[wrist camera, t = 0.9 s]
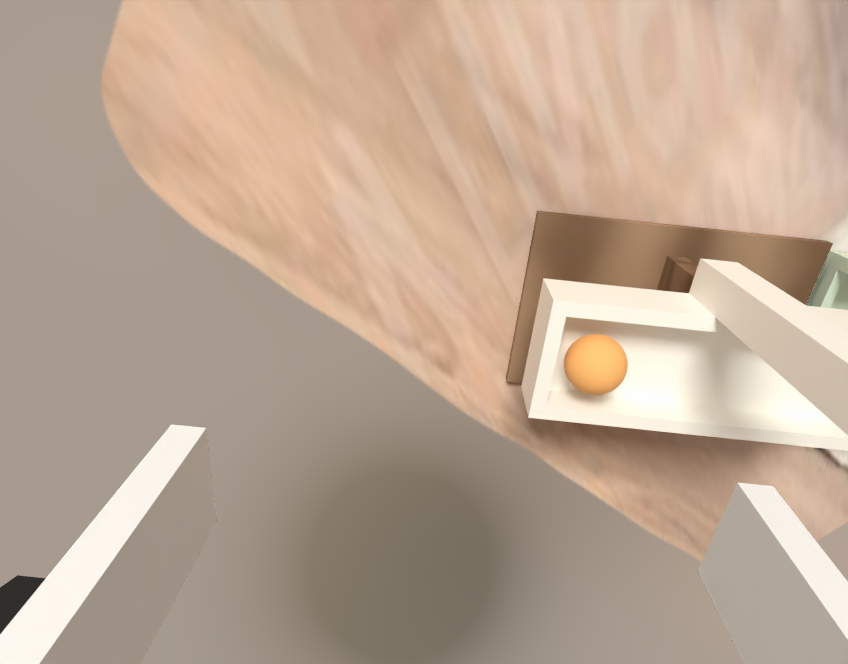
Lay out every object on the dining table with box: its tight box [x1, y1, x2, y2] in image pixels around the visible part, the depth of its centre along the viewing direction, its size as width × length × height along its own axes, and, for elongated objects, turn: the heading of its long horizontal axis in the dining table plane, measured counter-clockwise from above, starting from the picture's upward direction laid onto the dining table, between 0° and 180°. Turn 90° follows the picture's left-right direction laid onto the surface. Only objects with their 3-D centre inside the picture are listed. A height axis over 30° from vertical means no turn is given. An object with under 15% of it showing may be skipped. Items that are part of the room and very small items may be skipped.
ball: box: [564, 334, 628, 395], centre depth 28 cm, size 3×3×3 cm
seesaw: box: [521, 258, 848, 451], centre depth 22 cm, size 18×9×18 cm, turn 85°
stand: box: [506, 211, 833, 383], centre depth 33 cm, size 18×12×5 cm, turn 85°
